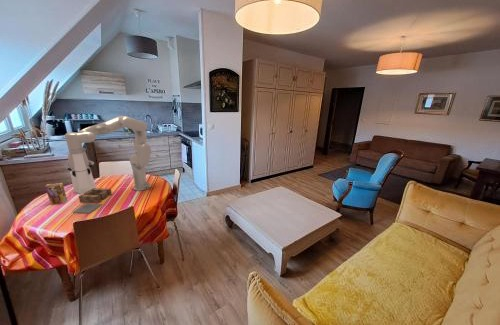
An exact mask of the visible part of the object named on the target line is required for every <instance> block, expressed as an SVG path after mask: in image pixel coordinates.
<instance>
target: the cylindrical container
mask: <svg viewBox="0 0 500 325" xmlns="http://www.w3.org/2000/svg"><path fill="white" fill-rule="evenodd" d="M72 157H73V160H74V166H75V168H74V171H75V175H76V179H77V183H78V187H79V188H87V187H90V186H91V182H90V178H89V174H88V169H87V167H86V165H85V163H84V159H83V154H82V153H81V154H72Z"/></svg>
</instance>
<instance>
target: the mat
mask: <svg viewBox="0 0 500 325" xmlns="http://www.w3.org/2000/svg"><path fill="white" fill-rule="evenodd" d="M101 206H103V204H102V203H89V202H85V204H83V205H81V206H80V207H78V208H77V209H75V210H73V211H72V214H87V215H88V214H91V213H93V212H94V211H96V210H97V209H98V208H100V207H101Z"/></svg>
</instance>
